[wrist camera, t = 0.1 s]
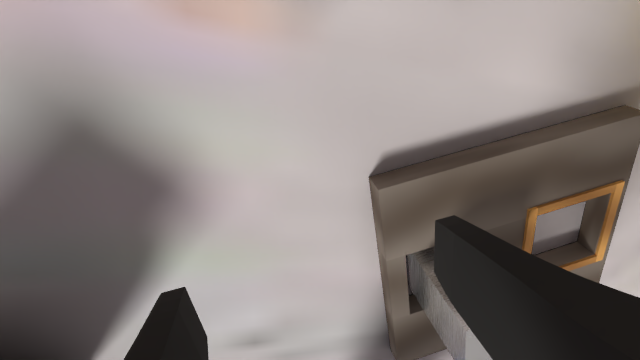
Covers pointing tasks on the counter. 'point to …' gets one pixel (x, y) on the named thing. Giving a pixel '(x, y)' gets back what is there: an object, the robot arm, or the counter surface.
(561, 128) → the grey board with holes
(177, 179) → the counter surface
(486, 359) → the steel peg
